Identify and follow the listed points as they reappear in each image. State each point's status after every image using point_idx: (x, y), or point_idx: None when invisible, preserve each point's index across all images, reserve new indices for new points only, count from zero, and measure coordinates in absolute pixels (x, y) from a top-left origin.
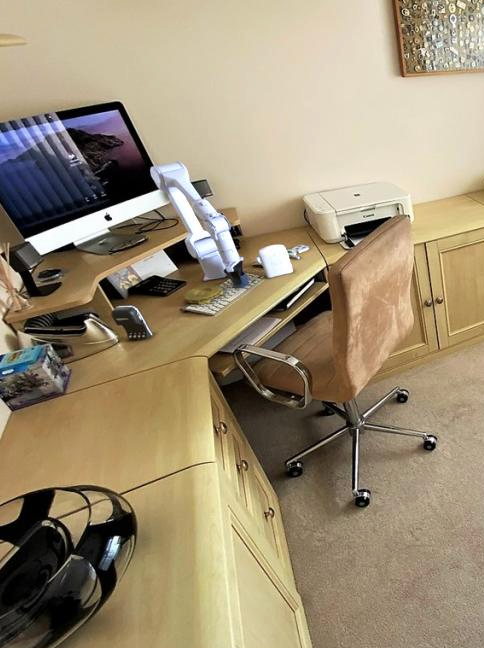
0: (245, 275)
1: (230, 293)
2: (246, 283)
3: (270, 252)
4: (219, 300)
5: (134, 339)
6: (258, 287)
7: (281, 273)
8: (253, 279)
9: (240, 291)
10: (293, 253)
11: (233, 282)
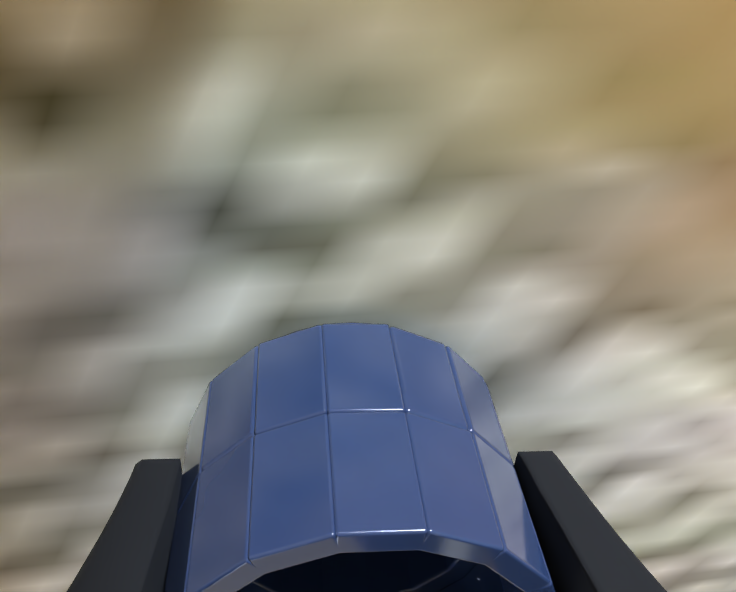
0: (433, 494)
1: None
2: (458, 367)
3: None
4: (726, 585)
5: None
6: (715, 102)
7: None
8: (137, 240)
9: (634, 407)
10: None
11: (465, 590)
